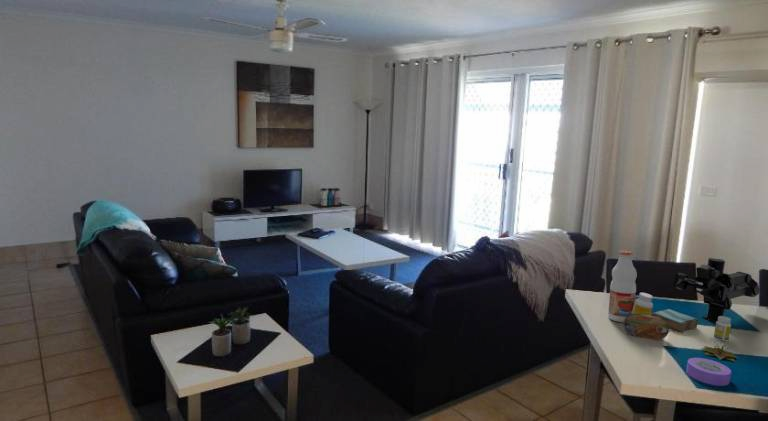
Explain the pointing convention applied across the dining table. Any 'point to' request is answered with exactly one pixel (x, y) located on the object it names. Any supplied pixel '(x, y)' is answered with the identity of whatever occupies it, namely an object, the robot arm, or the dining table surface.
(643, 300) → the supplement bottle
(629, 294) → the fruit juice
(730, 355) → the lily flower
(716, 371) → the masking tape
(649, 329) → the tin
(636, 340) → the dining table surface
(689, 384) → the dining table surface
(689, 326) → the riser
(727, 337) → the supplement bottle
